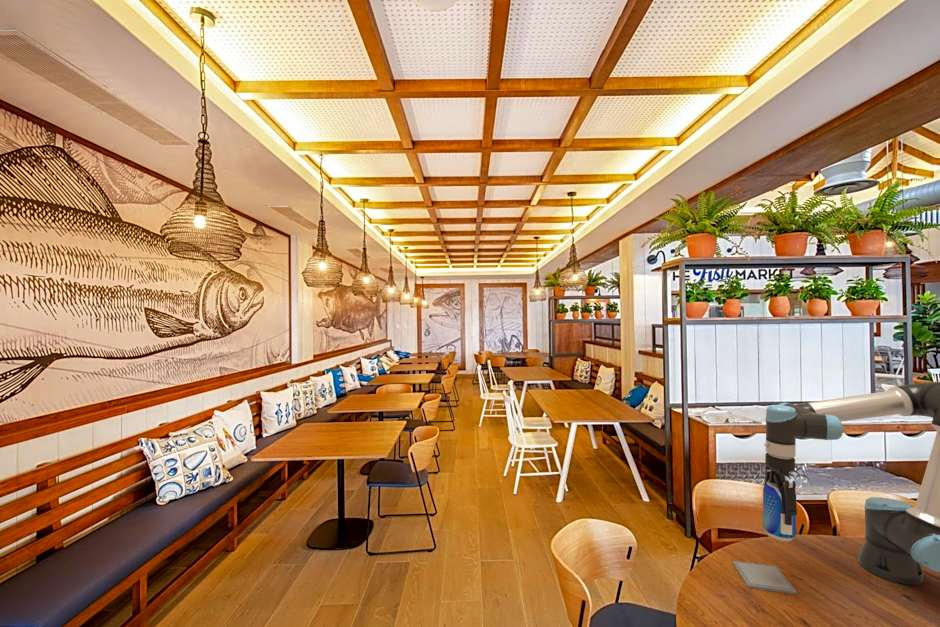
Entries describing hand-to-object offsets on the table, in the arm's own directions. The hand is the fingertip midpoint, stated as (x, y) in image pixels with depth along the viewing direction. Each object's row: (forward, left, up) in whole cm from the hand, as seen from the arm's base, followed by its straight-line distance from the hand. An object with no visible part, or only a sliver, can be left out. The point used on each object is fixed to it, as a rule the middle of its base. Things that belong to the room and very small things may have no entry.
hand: (778, 526), depth 130 cm
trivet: (+4, -2, -18) cm, 19 cm away
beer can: (0, 0, -3) cm, 3 cm away
